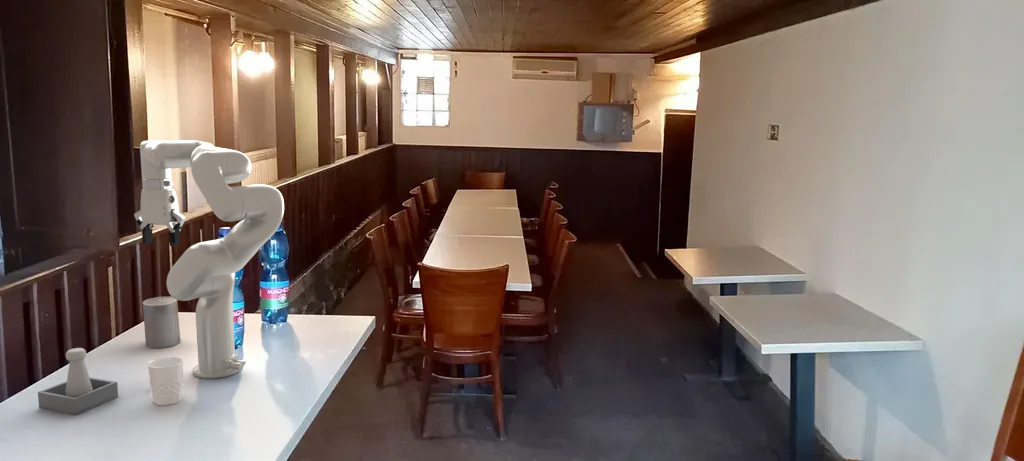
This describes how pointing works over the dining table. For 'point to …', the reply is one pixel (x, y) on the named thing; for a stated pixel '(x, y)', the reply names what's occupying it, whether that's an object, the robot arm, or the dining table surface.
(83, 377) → the salt shaker
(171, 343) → the pillar candle
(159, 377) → the white cup
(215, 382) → the dining table surface
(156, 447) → the dining table surface
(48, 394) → the box
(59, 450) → the dining table surface
